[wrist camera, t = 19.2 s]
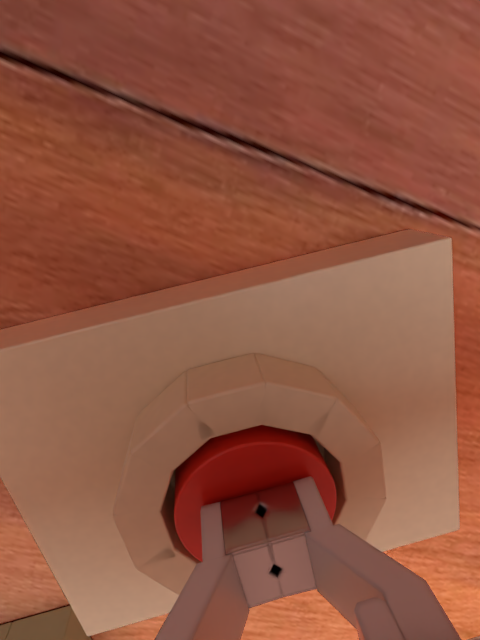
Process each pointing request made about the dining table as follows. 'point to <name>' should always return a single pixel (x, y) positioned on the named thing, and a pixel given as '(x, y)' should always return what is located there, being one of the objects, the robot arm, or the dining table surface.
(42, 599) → the dining table surface
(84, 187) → the dining table surface
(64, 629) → the dock
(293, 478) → the button
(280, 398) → the panel
